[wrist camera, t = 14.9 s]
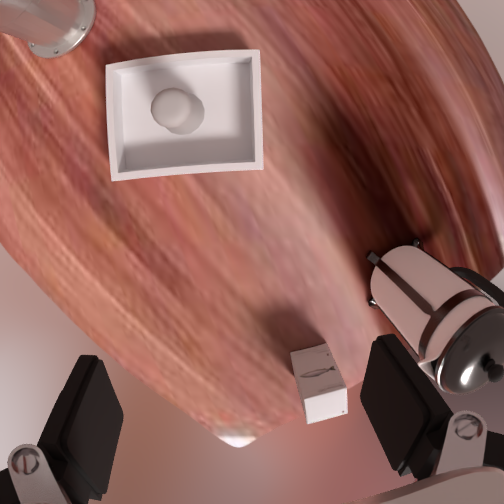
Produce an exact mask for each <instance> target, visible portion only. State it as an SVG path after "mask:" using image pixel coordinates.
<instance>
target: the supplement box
mask: <svg viewBox="0 0 504 504" xmlns="http://www.w3.org/2000/svg"><path fill="white" fill-rule="evenodd" d="M290 355H291V360H292V366H293V371H294V376H295V380H296V384H297V388H298V392H299V396H300V399H301V403H302V406H303V410H304V414H305V418H306V423H307V424H310V423H314V422H318V421H321V420H325V419H329V418H332V417H335V416H339V415H343V414H346V413H348V409H347V387H346V385H345V383H344V380H343V378H342V376H341V373H340V371H339V369H338V367H337V364H336V362H335V360H334V358H333V356H332V353H331V351H330V349H329V347H328V344H327V343H325V344H322V345H318V346H315V347H311V348H307V349H303V350H299V351H294V352H290Z"/></svg>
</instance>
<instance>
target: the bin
mask: <svg viewBox="0 0 504 504" xmlns="http://www.w3.org/2000/svg"><path fill="white" fill-rule="evenodd" d="M173 87H174V88H178V89H182V90H183V91H185V92H187V93H190V94H194V95H195V96H196V97H198V98H199V99H200V100H201V101H202V103H203V106H204V109H205V113H204V120H203V122H202V123H201V125H200V126H199V128H198V129H196V130H195V131H193V132H192V133H191V134H185V135H178V134H174V133H171V132H170V131H169V130H168V129H166V128H165V127H163V126H160V125H159V124H158V123H157V122H156V121H155V120H154V119H153V116H152V114H151V102H152V101H153V99H154V97H155V96H156V94H158V93H159V92H161V91H162V90H163V89H168V88H173ZM106 111H107V131H108V146H109V158H110V169H111V179H112V181H119V180H128V179H137V178H146V177H156V176H167V175H178V174H191V173H205V172H221V171H239V170H264V169H263V132H262V100H261V70H260V50H219V51H203V52H190V53H180V54H171V55H162V56H155V57H148V58H141V59H135V60H129V61H124V62H118V63H113V64H108V65H106Z"/></svg>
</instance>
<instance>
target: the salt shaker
mask: <svg viewBox="0 0 504 504" xmlns="http://www.w3.org/2000/svg"><path fill="white" fill-rule="evenodd" d="M204 113H205V109H204V106H203V103H202V101H201V100H200V99H199V98H198V97H196V96H195V95H194V94H190V93H187V92H185V91H183V90H182V89H178V88H174V87H173V88H168V89H163V90H162V91H161V92H159V93H158V94H156V96H155V97H154V99H153V101H152V102H151V114H152V116H153V119H154V120H155V121H156V122H157V123H158V124H159V125H160V126H163V127H165V128H166V129H168V130H169V131H170V132H171V133H174V134H178V135H185V134H191V133H192V132H193V131H195V130H196V129H198V128H199V126H200V125H201V123H202V122H203V120H204Z"/></svg>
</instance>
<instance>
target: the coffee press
mask: <svg viewBox="0 0 504 504" xmlns="http://www.w3.org/2000/svg"><path fill="white" fill-rule="evenodd" d="M418 243H419V247H420V249H421V250H423V251H424V247H423V242H422V241H421V240H419V239H418V238H415V239H414V240H413V242H412V246H400V247H397V248H395V249H392V250H391V251H389V252H388V253H386V254H385V255H384V256H383V257H382V258H379V257H378V256H377V255H376V254H374V253H373V252H372V251H369V253H368V254H367V256H366V258H367V259H368V260H370V261H371V262H372V263H373V264H375V265H376V267H375V269H374V271H373V274H372V277H371V293H372V296H373V298H372V299H371V300H370V301H369V306H370V307H372V308H374V309H380V310H381V311H382V312H383V313H384V314H385V316H386V317H387V318H388V319H389V321H390V322H391V323H392V324H393V326H394V327H395V328H396V329H397V331H398V332H399V333H400V334H401V336H402V337H403V338H404V339H405V341H406V342H407V343H408V344H409V346H410V347H411V348H412V350H413V351H414V352H415V353H416V355H417V356H418V357H419V359H420V360H421V361H419V362H418V366H419V367H420V368H421V369H422V370H423V371H424V372H425V373H427V374H428V375H429V376H430V377H432V378H433V379H434V380H435V381H436V384H437V385H438V387H439V388H440V389H441V390H442V391H443V392H446V393H452V394H455V395H464V394H468V393H471V392H474V391H476V390H477V389H479V388H481V387H482V386H484V385H485V384H486V383H488V382H489V381H491V382H498V381H500V380H501V379H502V377H503V375H504V369H503V365H504V292H503V291H502V290H500V289H499V288H498V287H497V286H495V285H494V284H492V283H491V282H490V281H488V280H487V279H485V278H484V277H483V276H481V275H480V274H478V273H476V272H475V271H473V270H470V269H467V268H463V267H452V268H448V267H447V266H446V265H444V264H443V263H441V262H440V261H438V260H437V259H436V258H434V257H433V256H431V255H430V254H428V253H427V252H425V251H424V252H425V253H424V252H423V251H421V250H420V249H418V248H417V245H418ZM441 264H442V265H441ZM462 277H463V278H466V279H468V280H470V281H471V282H472V283H474V284H475V285H476V286H478V287H479V288H480V289H482V290H483V291H484V292H486V293H487V294H488V295H490V296H491V297H492V298H493V299H495V300H496V301H497V302H498V304H499V306H496V305H494V304H493V302H492V301H491V300H490V298H488V297H487V296H485V295H484V294H483V293H482V292H481V291H479V290H478V289H477V288H475V287H474V286H473V285H472V284H470V283H469V282H468V281H466V280H465V279H463V278H462ZM376 302H377V304H378V305H379V306H380V307H379V306H377V305H374V304H375V303H376Z"/></svg>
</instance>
